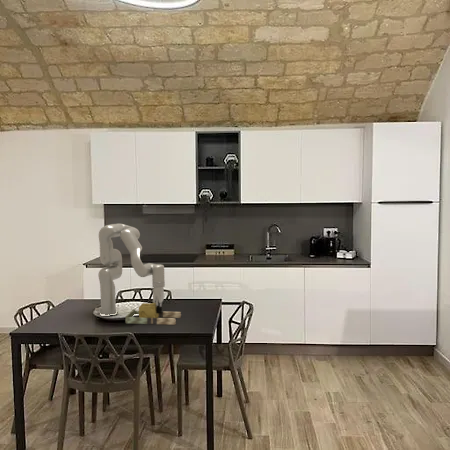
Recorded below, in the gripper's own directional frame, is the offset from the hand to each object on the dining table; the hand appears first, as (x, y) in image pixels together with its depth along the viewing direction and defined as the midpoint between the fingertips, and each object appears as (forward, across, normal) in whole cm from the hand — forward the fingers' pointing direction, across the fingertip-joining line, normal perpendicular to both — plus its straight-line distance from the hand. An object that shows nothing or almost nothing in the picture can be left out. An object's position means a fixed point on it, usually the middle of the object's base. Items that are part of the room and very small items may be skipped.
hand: (159, 313), depth 301 cm
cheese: (+5, 0, -7) cm, 8 cm away
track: (+5, 0, -3) cm, 6 cm away
